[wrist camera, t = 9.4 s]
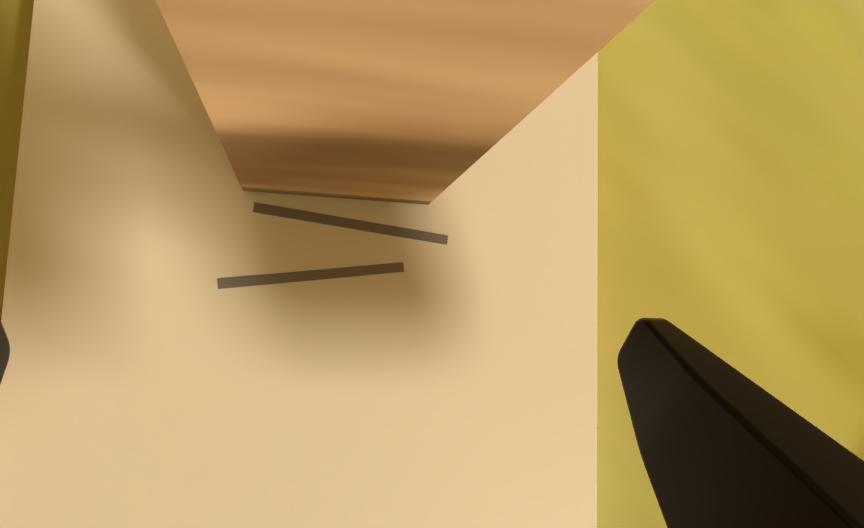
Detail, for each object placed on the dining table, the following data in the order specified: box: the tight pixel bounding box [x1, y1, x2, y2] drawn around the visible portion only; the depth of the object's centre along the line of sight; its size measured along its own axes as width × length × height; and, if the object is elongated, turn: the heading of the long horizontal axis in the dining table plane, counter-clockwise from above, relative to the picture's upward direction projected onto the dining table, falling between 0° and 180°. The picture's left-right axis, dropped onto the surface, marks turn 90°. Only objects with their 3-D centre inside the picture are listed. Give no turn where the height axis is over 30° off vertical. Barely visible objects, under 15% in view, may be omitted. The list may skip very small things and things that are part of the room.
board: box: [0, 0, 598, 528], centre depth 14 cm, size 22×14×1 cm, turn 178°
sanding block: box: [156, 0, 654, 205], centre depth 10 cm, size 4×4×10 cm
